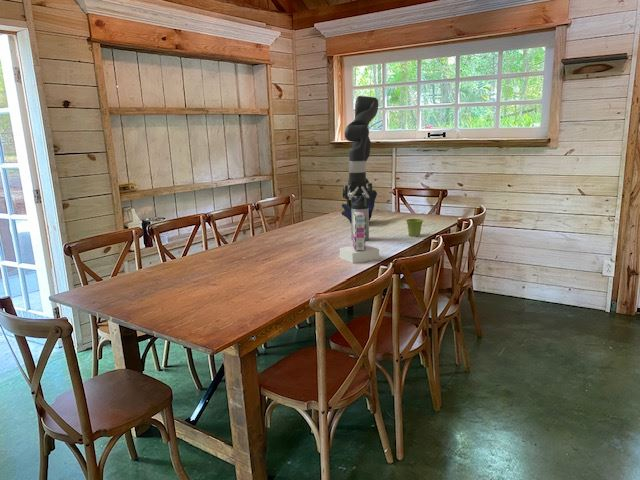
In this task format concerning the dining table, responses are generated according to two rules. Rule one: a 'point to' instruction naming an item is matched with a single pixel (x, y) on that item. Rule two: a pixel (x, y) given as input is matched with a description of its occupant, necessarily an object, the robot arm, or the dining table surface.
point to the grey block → (359, 254)
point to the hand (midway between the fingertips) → (357, 207)
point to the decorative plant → (347, 211)
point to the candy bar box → (359, 231)
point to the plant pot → (414, 226)
